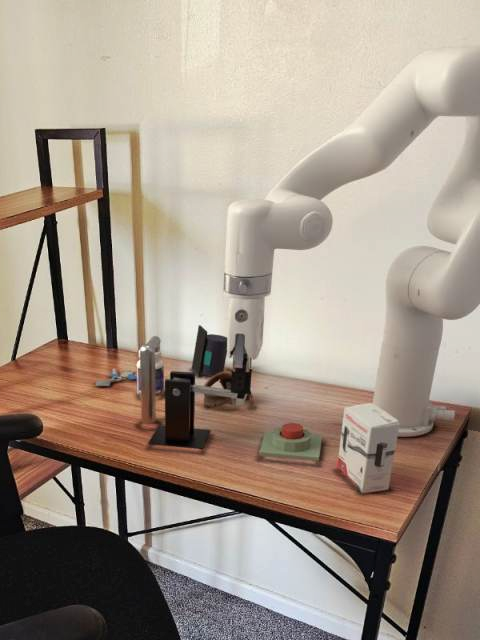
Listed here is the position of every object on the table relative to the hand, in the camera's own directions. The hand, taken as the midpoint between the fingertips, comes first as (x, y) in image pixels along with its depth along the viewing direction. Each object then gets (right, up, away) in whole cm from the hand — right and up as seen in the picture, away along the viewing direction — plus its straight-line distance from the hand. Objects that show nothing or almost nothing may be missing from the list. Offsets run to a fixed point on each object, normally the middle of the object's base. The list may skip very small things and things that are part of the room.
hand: (240, 391), depth 123 cm
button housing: (+9, -10, +3) cm, 14 cm away
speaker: (+1, +11, +39) cm, 40 cm away
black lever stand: (-10, -8, +9) cm, 15 cm away
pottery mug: (+2, +1, +22) cm, 23 cm away
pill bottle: (-13, +4, +29) cm, 32 cm away
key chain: (-20, +10, +39) cm, 45 cm away
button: (+9, -8, +1) cm, 12 cm away
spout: (-14, -3, +18) cm, 23 cm away
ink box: (+18, -16, -7) cm, 25 cm away
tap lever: (-5, 0, +3) cm, 6 cm away
